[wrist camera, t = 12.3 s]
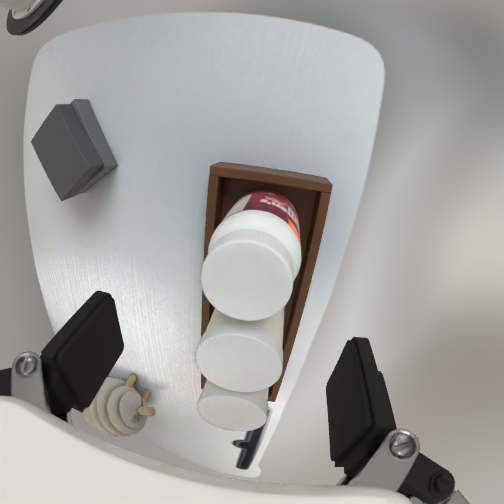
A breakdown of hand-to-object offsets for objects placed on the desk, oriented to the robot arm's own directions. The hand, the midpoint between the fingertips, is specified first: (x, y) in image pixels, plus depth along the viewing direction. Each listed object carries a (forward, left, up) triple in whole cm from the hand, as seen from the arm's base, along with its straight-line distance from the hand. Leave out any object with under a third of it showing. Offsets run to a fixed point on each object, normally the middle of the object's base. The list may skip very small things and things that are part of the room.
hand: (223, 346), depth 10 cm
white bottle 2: (+14, -3, -17) cm, 22 cm away
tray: (+9, -2, -17) cm, 20 cm away
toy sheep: (+28, -26, -18) cm, 42 cm away
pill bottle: (0, 0, -17) cm, 17 cm away
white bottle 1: (+7, -1, -17) cm, 18 cm away
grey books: (-10, -19, -17) cm, 27 cm away
